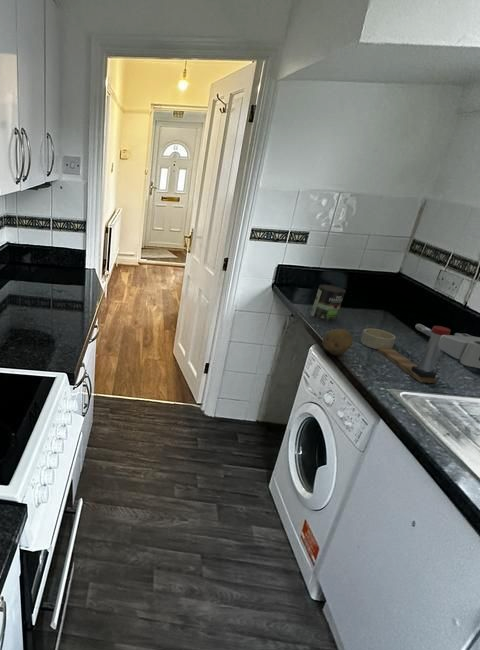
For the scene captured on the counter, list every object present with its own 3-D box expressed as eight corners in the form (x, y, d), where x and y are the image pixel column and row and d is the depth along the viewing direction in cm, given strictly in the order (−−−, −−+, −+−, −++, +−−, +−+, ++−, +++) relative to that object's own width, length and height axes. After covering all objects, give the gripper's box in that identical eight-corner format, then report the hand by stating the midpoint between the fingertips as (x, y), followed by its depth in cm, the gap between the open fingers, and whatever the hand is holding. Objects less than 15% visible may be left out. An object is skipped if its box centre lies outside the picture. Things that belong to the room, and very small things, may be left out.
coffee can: (340, 323, 179) (351, 292, 172) (320, 323, 176) (330, 292, 170) (324, 313, 188) (334, 284, 182) (304, 314, 186) (313, 284, 179)
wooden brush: (435, 383, 132) (437, 379, 131) (420, 382, 132) (421, 378, 131) (391, 352, 152) (392, 348, 151) (377, 351, 152) (378, 347, 151)
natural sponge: (331, 361, 142) (340, 335, 138) (312, 349, 150) (321, 324, 146) (352, 359, 145) (362, 334, 140) (333, 348, 152) (341, 323, 148)
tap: (435, 377, 132) (455, 331, 125) (420, 377, 132) (440, 330, 125) (410, 360, 142) (427, 317, 136) (396, 360, 142) (413, 316, 136)
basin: (390, 344, 159) (395, 332, 157) (391, 354, 151) (396, 341, 149) (360, 338, 163) (364, 326, 161) (359, 346, 155) (363, 334, 153)
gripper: (546, 348, 107) (499, 328, 120) (467, 343, 107) (429, 323, 120) (534, 369, 110) (489, 347, 122) (457, 364, 109) (421, 343, 122)
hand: (459, 335), depth 121 cm, fingers closed
